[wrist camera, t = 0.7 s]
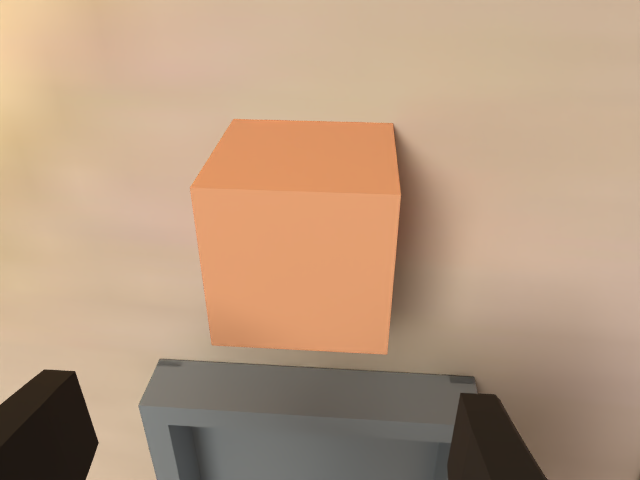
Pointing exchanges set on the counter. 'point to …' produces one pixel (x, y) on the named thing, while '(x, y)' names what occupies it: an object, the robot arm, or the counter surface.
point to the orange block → (299, 235)
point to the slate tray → (298, 422)
